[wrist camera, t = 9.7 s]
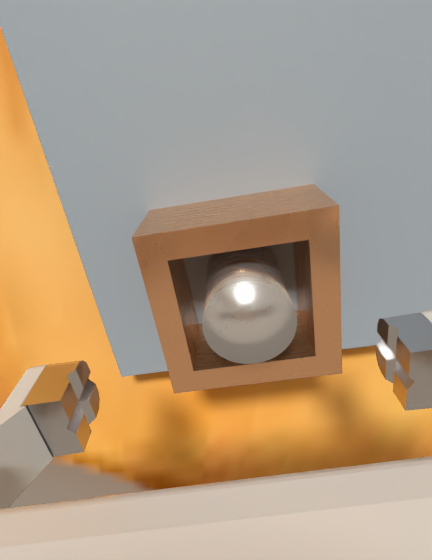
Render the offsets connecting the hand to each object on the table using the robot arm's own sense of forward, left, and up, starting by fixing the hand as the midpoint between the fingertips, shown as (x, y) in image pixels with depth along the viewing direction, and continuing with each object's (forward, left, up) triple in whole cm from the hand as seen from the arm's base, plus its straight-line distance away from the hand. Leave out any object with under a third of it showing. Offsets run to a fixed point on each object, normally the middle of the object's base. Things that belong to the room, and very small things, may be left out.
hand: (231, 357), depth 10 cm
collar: (+1, -1, -7) cm, 7 cm away
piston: (+1, -1, -7) cm, 7 cm away
